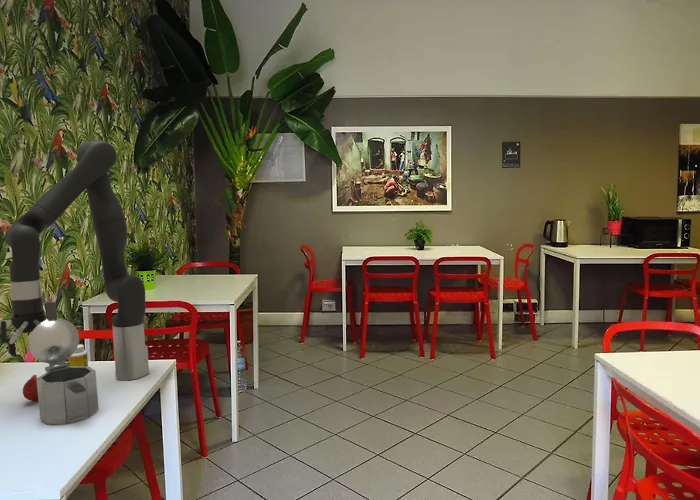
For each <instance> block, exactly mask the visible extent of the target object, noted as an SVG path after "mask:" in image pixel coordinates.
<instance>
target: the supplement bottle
mask: <svg viewBox="0 0 700 500" xmlns="http://www.w3.org/2000/svg"><path fill="white" fill-rule="evenodd" d="M88 360H89V359H88V351H87V350H85V345H84V344H78V346H77V349H76V350H75V352H74V353H73V354H72V355H71V356H70V357H69V358H68V359H67V362H70V366H68V367H75V366H89V362H88Z"/></svg>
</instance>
